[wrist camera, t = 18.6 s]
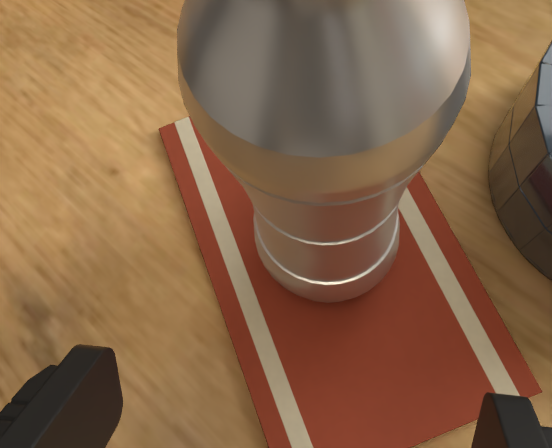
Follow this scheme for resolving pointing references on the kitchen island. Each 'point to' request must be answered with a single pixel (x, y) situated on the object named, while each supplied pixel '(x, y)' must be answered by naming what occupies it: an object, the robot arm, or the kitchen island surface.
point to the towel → (351, 324)
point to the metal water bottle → (324, 121)
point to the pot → (527, 168)
